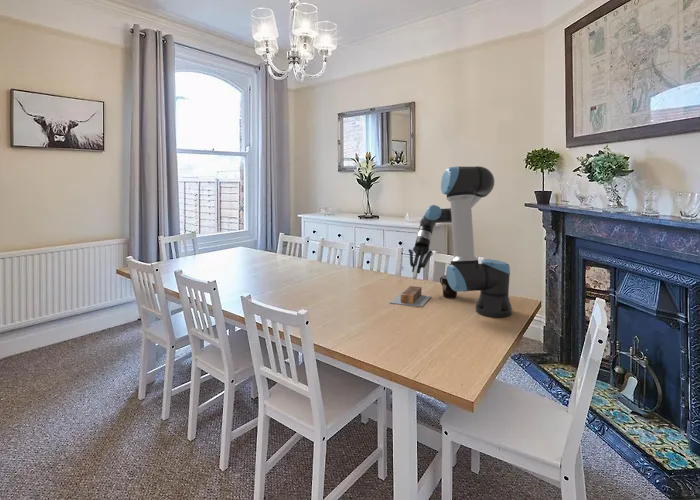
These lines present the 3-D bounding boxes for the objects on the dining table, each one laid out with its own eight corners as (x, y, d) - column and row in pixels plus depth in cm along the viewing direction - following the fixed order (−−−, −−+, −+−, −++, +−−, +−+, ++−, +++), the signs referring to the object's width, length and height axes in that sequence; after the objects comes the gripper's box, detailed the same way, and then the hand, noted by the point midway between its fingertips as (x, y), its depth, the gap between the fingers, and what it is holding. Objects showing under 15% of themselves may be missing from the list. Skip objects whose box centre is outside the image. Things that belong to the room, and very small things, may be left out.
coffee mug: (460, 298, 199) (461, 279, 197) (443, 299, 199) (443, 279, 197) (454, 292, 210) (455, 273, 209) (438, 292, 211) (438, 273, 209)
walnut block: (421, 287, 205) (412, 295, 191) (421, 294, 206) (412, 303, 191) (410, 286, 207) (400, 294, 193) (410, 293, 208) (400, 302, 194)
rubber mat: (430, 296, 203) (430, 296, 203) (422, 307, 187) (422, 306, 187) (400, 293, 210) (400, 292, 210) (389, 303, 194) (389, 302, 194)
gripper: (436, 245, 217) (428, 283, 205) (412, 244, 222) (403, 280, 210) (434, 236, 211) (425, 275, 199) (410, 235, 216) (400, 273, 204)
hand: (414, 278), depth 204 cm, fingers closed
